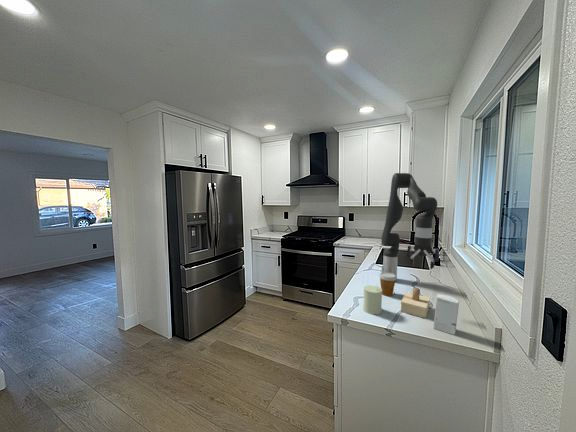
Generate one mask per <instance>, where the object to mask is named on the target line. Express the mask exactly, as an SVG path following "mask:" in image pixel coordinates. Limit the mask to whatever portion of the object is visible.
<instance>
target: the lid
mask: <svg viewBox="0 0 576 432" xmlns="http://www.w3.org/2000/svg"><path fill="white" fill-rule="evenodd" d="M420 291H421V289H420V288H416V287H413V288H412V292H408V291H407V292H405V295H404V296H403V297H402V299H401V301H400V304H405V305H409V306H413V307H417V308H421V309H424V310H426V309H427V306H428V303H429V304H430V299H431V297H430V296H426V295H421V294H420Z"/></svg>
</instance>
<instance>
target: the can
mask: <svg viewBox="0 0 576 432" xmlns="http://www.w3.org/2000/svg"><path fill="white" fill-rule="evenodd" d="M382 297H383V294H382V289H381V287H379V286H377V285H365V286H363V307H362V309H363V311H364V312H365V313H367V314H370V315H380V314H382V312H383V311H382V310H383V309H382V299H383V298H382Z"/></svg>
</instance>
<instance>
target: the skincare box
mask: <svg viewBox="0 0 576 432" xmlns="http://www.w3.org/2000/svg"><path fill="white" fill-rule="evenodd" d="M459 306H460V298H457V297H453V296H451V295H445V294H441V293H438V294H437V296H436V302H435V309H434V310H435V311H434V320H433V329H435V330H438V331H441V332H445V333H448V334H450V335H453V336H454V335H455V334H456V330H457V325H458V324H457V322H458V315H459Z"/></svg>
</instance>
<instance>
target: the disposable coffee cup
mask: <svg viewBox="0 0 576 432" xmlns="http://www.w3.org/2000/svg"><path fill="white" fill-rule="evenodd" d="M379 280H380V281H379V282H380V288H381V289H382V296H385V297H392V296H393V295H394V290H395V284H396V281H395V280H396V276H395V275H394V274H392V273H382V272H381V273H380V274H379Z"/></svg>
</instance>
